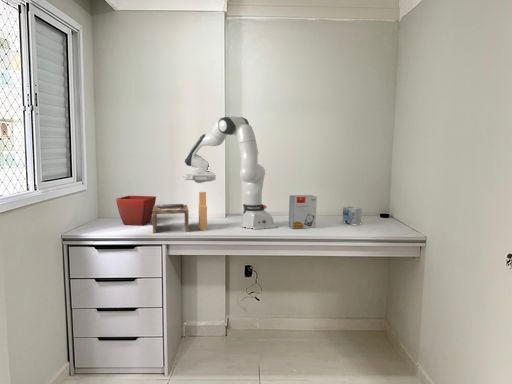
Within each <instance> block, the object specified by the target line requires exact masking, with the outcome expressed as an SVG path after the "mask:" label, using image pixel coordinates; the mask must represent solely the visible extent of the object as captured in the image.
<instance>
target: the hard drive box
mask: <svg viewBox="0 0 512 384" xmlns="http://www.w3.org/2000/svg"><path fill="white" fill-rule="evenodd" d="M317 199H318V197H317V196H315V195H313V194H312V195H311V194H309V195H307V194H304V195H303V194H302V195H301V194H299V195H298V194H297V195H295V194H294V195H293V194H292V195H289V205H288V227H289V228H291V229H293V230H294V229H295V230H296V229H297V230H298V229H316V219H317V204H318V203H317Z"/></svg>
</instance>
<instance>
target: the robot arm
mask: <svg viewBox="0 0 512 384" xmlns="http://www.w3.org/2000/svg"><path fill="white" fill-rule="evenodd" d="M229 135H230V136H232V135H234V136H235V137H236V140H237V143H238V150H239V154H240V155H239V157H240V170H239V171H240V172H239V177H240V179H241V180H242V181H243V182H245V188H244V191H243V205H242V213H243V216H242V221H241V225H240V227H241V228H244V227H246V228H245V229H251V228H253V229H252V230H262V229H264V228H265V229H274V228H277V227H278V225H277V223H275V222H274V217H273V216H272V215H271V214H270V213H269V212H268V211H266V210H265V209H267V207H268V206H267V205H265V204H263V203H262V199H263V197H262V195H263V187H264V180H265V175H266V169H265V168H264V166H263V165H261V164H260V163H258V162H259V161H258V160H259V159H258V157H259V156H258V155H259V151H258V146H257V145H258V144H257V140H256V135H255V132H254V129H253V127H252V126H251V125H250V123H249V121H248V119H247V118H245V117H242V116H225V117H219V118H217V119H216V120H215V121H214V124H212V127H211V128H210V130H209V131H208V132H207V133H204V134H202V135H201V136H200V137H199V138H198V140H197V141H196V142H195V144H194V145H193V146H192V148H190V150H189V151H190V152H189V151H188V152H187V153H186V155H185V156H186V157H184V160H185V161H184V163H185V165H186V166H188V167H191V166H192V167H191V168H194V167H195V168H194V170H195V171H194V170H193V171H194V172H193V171H192V172H193V174H192V173H185V174H184V175H183V178H184V181H194V182H195V183H197V184H203V183H206V182H213V181H216V179H217V177H216V174H215V173H214V172H213V171H207V170H208V167H209V163H208V161H206V160H205V159H203V158H202V157H201V156H202V155H201V156H199V155H200V154H199V155H197V154H198V152H199V150H200V149H201V148H202V147H204V146H205V147H207V146H209V147H210V146H211V147H219V146H220V145H222V144H223V143H224V142H225V139H226V137H227V136H229ZM196 153H197V154H196ZM196 168H199V169H198V170H196ZM265 229H264V230H265Z"/></svg>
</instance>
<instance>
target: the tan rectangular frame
mask: <svg viewBox="0 0 512 384" xmlns="http://www.w3.org/2000/svg"><path fill="white" fill-rule="evenodd" d="M167 214H168V215H169V214H170V215H171V214H173V215H174V214H175V215H176V214H177V215H179V214H184V228H185V232H186V233H189V229H190V228H189V227H190V226H189V223H190V222H189V207H188V205H187V204H184V203H172V204H171V203H167V204H165V203H164V204H163V203H162V204H160V203H158V204H157V205H156V204H155V205H154V207H153V214H152V234H156V233H157V228H158V220H157V219H158V216H157V215H167Z"/></svg>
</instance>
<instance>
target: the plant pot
mask: <svg viewBox="0 0 512 384" xmlns="http://www.w3.org/2000/svg"><path fill="white" fill-rule="evenodd" d="M115 200H116V206H117V210H118V213H119V216H120V219H121V221H122V224H123V225H127V226H129V225H130V226H144V225H146V224H148V223H150V222H151V219H152V218H153V207H154V205H156V200H157V196H155V195H153V196H152V195H126V196H122V197H118V198H116V199H115Z"/></svg>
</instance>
